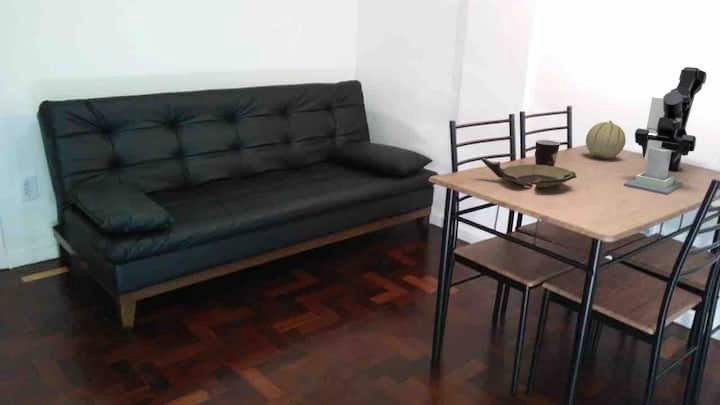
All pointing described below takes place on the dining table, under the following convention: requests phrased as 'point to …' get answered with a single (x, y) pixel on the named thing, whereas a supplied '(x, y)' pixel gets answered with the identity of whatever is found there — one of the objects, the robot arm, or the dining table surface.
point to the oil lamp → (532, 174)
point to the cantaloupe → (605, 140)
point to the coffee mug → (546, 152)
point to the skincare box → (657, 163)
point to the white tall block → (654, 121)
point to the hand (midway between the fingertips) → (657, 159)
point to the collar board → (654, 184)
